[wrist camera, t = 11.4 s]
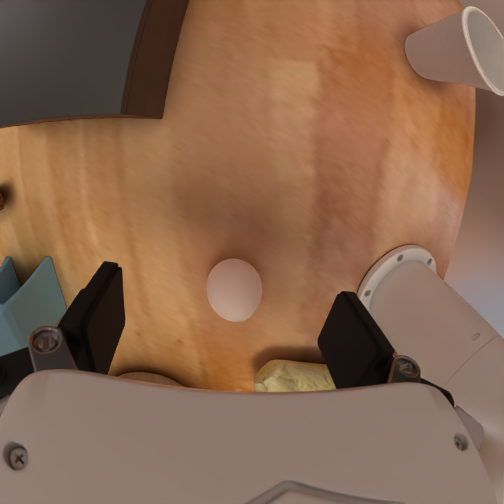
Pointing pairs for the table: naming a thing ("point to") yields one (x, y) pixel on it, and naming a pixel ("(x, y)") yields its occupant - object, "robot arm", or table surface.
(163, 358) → the table surface
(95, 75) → the cabinet
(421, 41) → the dixie cup
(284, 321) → the table surface
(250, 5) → the table surface
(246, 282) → the egg
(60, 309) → the vase
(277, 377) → the lettuce
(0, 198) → the tin
